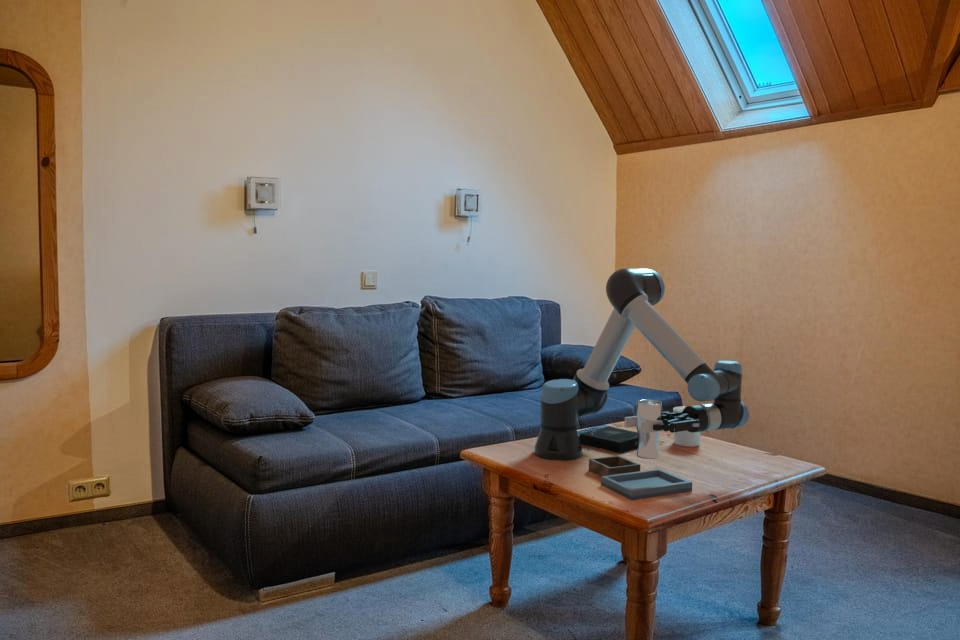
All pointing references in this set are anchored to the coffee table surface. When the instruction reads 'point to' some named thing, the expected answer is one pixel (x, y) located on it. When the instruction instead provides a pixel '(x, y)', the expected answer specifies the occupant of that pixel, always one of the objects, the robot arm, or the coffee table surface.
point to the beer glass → (649, 441)
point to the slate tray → (646, 484)
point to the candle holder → (685, 434)
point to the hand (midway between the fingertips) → (633, 425)
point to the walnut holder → (612, 466)
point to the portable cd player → (610, 439)
